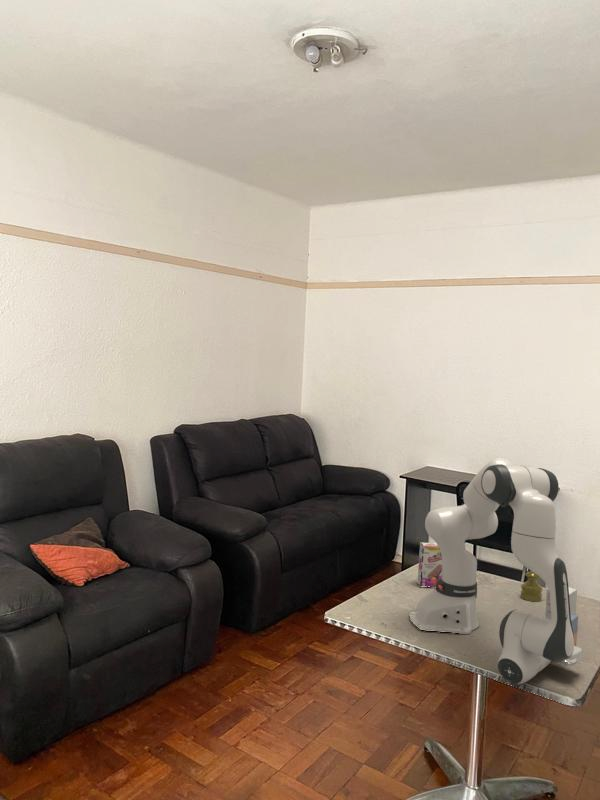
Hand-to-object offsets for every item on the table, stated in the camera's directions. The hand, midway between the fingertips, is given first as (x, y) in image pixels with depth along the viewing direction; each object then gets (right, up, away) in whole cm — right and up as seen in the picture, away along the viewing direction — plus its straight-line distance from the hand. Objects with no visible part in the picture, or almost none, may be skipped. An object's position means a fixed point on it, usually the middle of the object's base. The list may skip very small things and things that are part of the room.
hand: (554, 637), depth 188 cm
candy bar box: (-24, -1, +55) cm, 60 cm away
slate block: (+6, 0, +6) cm, 8 cm away
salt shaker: (+10, -3, +46) cm, 47 cm away
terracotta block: (+5, -5, +6) cm, 10 cm away
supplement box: (+11, -5, +22) cm, 25 cm away
